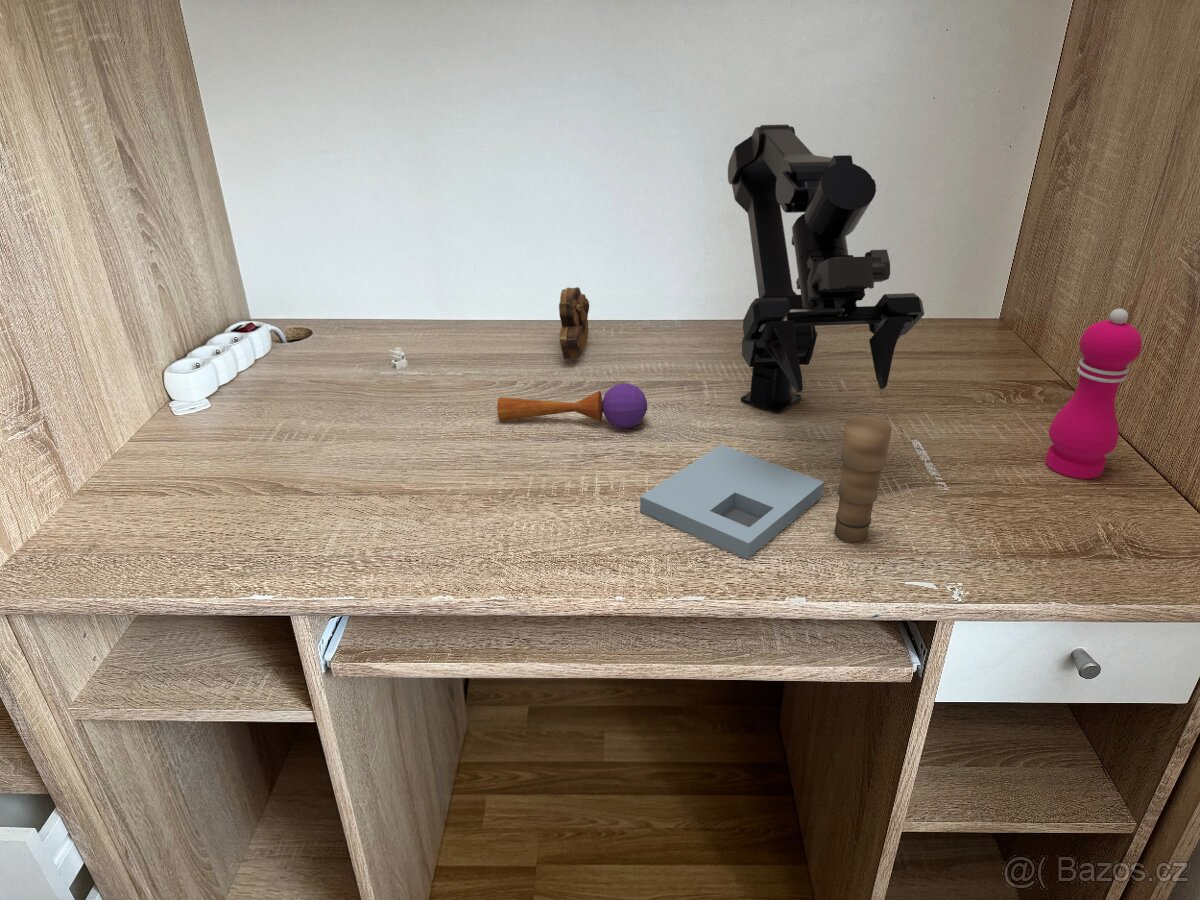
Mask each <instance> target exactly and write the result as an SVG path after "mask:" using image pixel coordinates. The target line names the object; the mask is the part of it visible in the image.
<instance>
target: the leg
mask: <svg viewBox="0 0 1200 900" xmlns="http://www.w3.org/2000/svg"><path fill="white" fill-rule="evenodd" d="M892 429H893V428H892V426H891V424H890V423H888V422H887V421H885V420H883V419H882V418H881V419H880V418H878V417H875V416H874V417H873V416H866V415H865V416H864V415H861V416H853V417H850V418H848V419H847V420H846V421H845V426H844V432H843V438H842V439H843V440H842V445H841V452H840V462H841V468H840V469H841V470H840V476H839V482H838V483H839V484H838V490H837V494H838V496H839V500H838V506H837V512H836V513H835V525H834V526H835V527H834V536H835V537H836V538H837V539H838V540H840V541H841V542H844V543H845V544H846V543H847V544H852V545H853V544H857V545H858V544H863V543H865V542H866V541H867V540H868V536H869V529H870V525H871V523H872V512H873V507H874V502H876V500H877V498H878V494H879V488H880V482H881V481H880V480H881V476H882V470H883V469H884V468H885V467H886V463H887V458H888V452H889V447H890V440H891V435H892Z"/></svg>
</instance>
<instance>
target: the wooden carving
mask: <svg viewBox="0 0 1200 900" xmlns="http://www.w3.org/2000/svg"><path fill="white" fill-rule="evenodd" d="M586 297H587V296H586V295H585V294H584V293H582V292H581V288H580V287H566V288H565V289H562V290H561V292H560V299H559V303H558V311H559V313H558V314H559V319H560V322H561V328H560V331H559V344H560V348H561V352H562V357H563V360H571V359H578V358H579V352H581V351H582V352H583V351H584V350H585V349H586V346H587V342H588V337H589V335H588V334H589V320H588V316H589V311H590V302H589V299H588V298H586Z"/></svg>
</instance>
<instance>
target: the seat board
mask: <svg viewBox="0 0 1200 900" xmlns="http://www.w3.org/2000/svg"><path fill="white" fill-rule="evenodd" d="M824 485H825V481H823V480H820V479H818V478H815V477H811V475H806V474H804V473H801V472H798V471H795V470H793V469H789V468H787V467H783V466H781V465H779V464H775V463H773V462H770V461H767V460H765V459H762V458H759V457H757V456H753V455H751V454H748V453H745V452H742V451H739V450H738V449H733V448H731V447H729V446H726V445H723V444H719V445H718V446H716V448H714V449H712V450H710V451H709V452H707V453H706V454H704V455H703V456H701V457H699V458H698V459H697V460H695V461H694V462H692V463H691V464H689V465H687V466H685V467H683V469H681V470H679V471H678V472H676V473H674V474H673V475H671V476H670V477H668V478H667V479H665V480H663V481H662V482H661V483H659V484H658V485H656V486H654V487H653V488H651V489H650V490H648V491H647V492H645V493H644V494H642V495H641V496H640V501H639V502H640V503H639V504H640V505H639V512H640V513H642V514H645V515H647V516H649V517H651V518H653V519H655V520H658V521H660V522H662V523H664V524H666V525H668V526H670V527H674V528H675V529H678V530H680V531H683V532H685V533H687V534H690V535H691V536H693V537H696V538H698V539H701V540H702V541H705V542H706V543H709V544H711V545H714V546H716V547H718V548H721V549H723V550H725V551H727V552H730V553H732V554H734V555H735V556H738V557H741V558H743V559H746V560H748V559H750V558H751V557H753V555H754V554H756V553H757V552H758V551H759V550H761V549H762V548H763V547H764V546H765V545H767V544H768V543H769V542H770V541H771V540H773V539H774V538H775V537H776V536H777V535H779V534H780V533H781V532H782V531H783V530H784V529H785V528H787V527H788V526H790V524H791V523H792V522H793V521H795V520H796V519H797V518H799V517H800V516H801V515H802V514H804V513H805V512H806V511H807V510H808V509H809V508H811V506H813V505H814V504H815V503H816V502H817V501H819V500H820V499H821V498H823V494H824V493H823V492H824Z"/></svg>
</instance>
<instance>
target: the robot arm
mask: <svg viewBox="0 0 1200 900" xmlns="http://www.w3.org/2000/svg"><path fill="white" fill-rule="evenodd" d="M795 131H796V130H795V128H794V126H790V125H789V124H786V123H785V124H760V126H756V127H755V128H754V130H753V132H752V134H751V135H750V136H749V137H748V138H746V139H744V140H743V141H741V142H740V143H738V144H737V145H735V147H734V148H733V151H732V153H731V156H730V158H729V160H728V164H727V181H728V184H729V185H731V187H732V193H733V198H734V201H735V202H736V203H737V204H738V205H739V206H740V207H741V208H742V209H743V210H744V211H745V213H747V217H748V224H749V225H748V227H749V230H750V231H749V232H750V239H751V246H752V247H751V249H752V255H753V265H754V269H755V270H754V271H755V277H756V285H757V286H756V287H757V293H758V298H757V297H756V298H754V300H753V301H752V302H751V303H750V305H749V307H748V309H747V311H746V313H745V316H744V317H743V320H742V321H743V322H742V332H743V337H742V339H741V356H742V357H743V360H744V362H745V363H746V365H747V367H748V368H752V373H751V379H750V380H751V383H750V391H749V392H748V393H746V394H744V395H742V396H741V397H740V402H742V403H745V404H748V405H752V406H755V407H758V408H762V409H764V410H767V411H770V412H773V413H778V414H779V413H780V414H781V413H783V412H784V411H786V410H788V408H791V407H792V406H794V405H795V404H796V403H798V402H799V401H801V400H802V395H801V394H799V393H801V392H802V391H803V389H804V388H803V385H804V384H803V375H802V369H801V366H803V365H804V366H809V365H810V362H811V360H812V356H813V353H814V349H815V346H816V342H817V337H818V332H817V331H816V327H819V326H843V325H847V326H849V325H851V326H853V325H868V326H869V327H868V328H869V332H870V333H872V334H873V335H872V336H871V337H870V339H869V346H870V352H871V357H872V362H873V368H874V373H875V379H876V381H877V385H878V388H879V389H880V390H884V389H885V388H887V386H888V381H889V376H890V372H891V367H892V363H893V357H894V352H895V348H896V345H897V342H898V340H899V339H900V338H901V337H903V336H904V335H906V334H907V333H909V331H911V329H912V328H913V327H914V326H915V325H916V324H917V323H918V322H919V321H920V320H921V318H922V317H924V315H925V309H924V305H923V300H922V299H921V297H919V296H918V295H917V294H916V293H915V292H911V293H910V292H909V293H883V295H882V296H881V297H880V299H879V300H878V302H877V303H876V304H875V305H869V306H867V305H866V306H857V302H858V301H863V299H864V298H865V297H866V292H865V290H866V289H870V290H871V289H874V288H875V283H883V282H884V281H887V280H888V279H889V278H890V276H891V260H890V256H889V253H888V249H871V250H869V251H866V252H865V254H864V256H854V254H849V249H848V243H847V236H849V235H850V234H851V233H853V232H854V230H855V229H856V227H857V226H858V224H859V222H860V221H861V219H862V218H863V216H864V214H865V212H866V210H867V209H868V208H869V206H870V205H871V203H872V201H873V200H874V198H875V196H876V192H877V184H876V180H875V179H873V178H872V175H871V174H870V173H869V172H868V171H867V170H866V169H864V168H863V167H862V166H860V165H857V164H855V163H854V161H853V156H852V155H850V154H849V155H847V154H846V155H845V154H844V155H833V156H832V157H829V156H822V155H821V156H820V155H815V154H814V153H813V152H812V151H811V150H810V149H809V147H807V146H806V145H805V144H804V142H802V141H801V139H800V138H799V137H798V136H797V135H796V132H795ZM782 211H783V212H784V213H785V214H789V213H790V214H793V213H794V214H795V213H802V214H801V215H800V216H799V217H797V219H796V220H795V222H794V223H793V225H792V227H791V231H792V237H791V245H792V246H793V247H794V253H795V260H796V267H797V275H798V276H797V277H798V278H797V279H796V281H795V282H796V290H799V291H800V294H797V293H796V292H795V291H794V287H793V282H792V275H791V269H790V261H789V256H788V254H789V253H788V248H787V242H786V235H785V229H784V228H785V227H784V222H783V213H782ZM793 390H795V392H796V393H794V392H793Z"/></svg>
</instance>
